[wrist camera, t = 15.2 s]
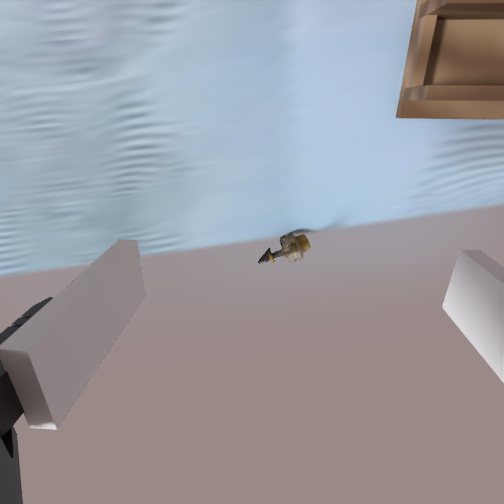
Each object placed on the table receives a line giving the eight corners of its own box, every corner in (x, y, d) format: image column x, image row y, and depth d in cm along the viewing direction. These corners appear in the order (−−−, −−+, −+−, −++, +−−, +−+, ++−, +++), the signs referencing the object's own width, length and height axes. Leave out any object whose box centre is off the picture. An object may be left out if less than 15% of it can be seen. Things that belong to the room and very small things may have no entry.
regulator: (311, 261, 34) (314, 251, 49) (297, 227, 34) (304, 227, 49) (249, 286, 36) (270, 269, 51) (235, 254, 36) (260, 246, 51)
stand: (412, -9, 33) (457, -44, 25) (554, -10, 33) (647, -48, 24) (390, 117, 38) (421, 121, 30) (512, 118, 38) (578, 122, 30)
